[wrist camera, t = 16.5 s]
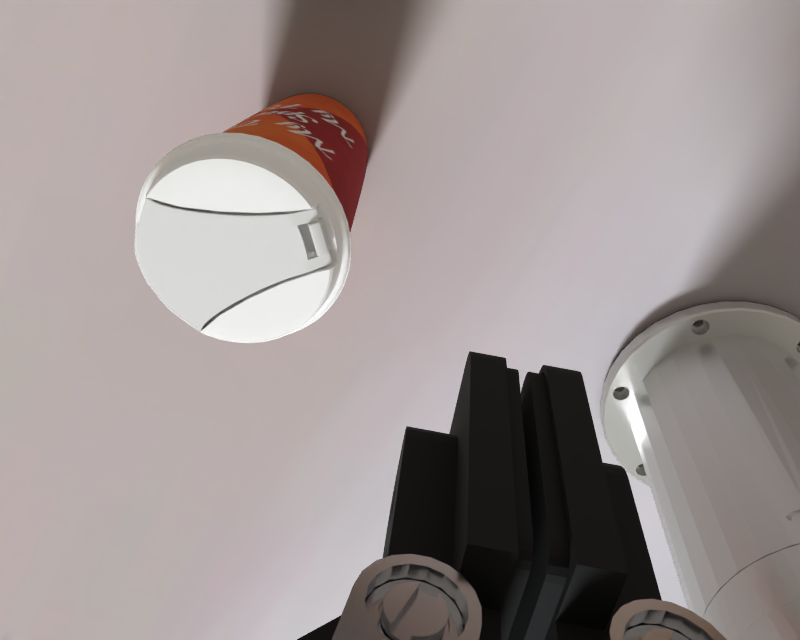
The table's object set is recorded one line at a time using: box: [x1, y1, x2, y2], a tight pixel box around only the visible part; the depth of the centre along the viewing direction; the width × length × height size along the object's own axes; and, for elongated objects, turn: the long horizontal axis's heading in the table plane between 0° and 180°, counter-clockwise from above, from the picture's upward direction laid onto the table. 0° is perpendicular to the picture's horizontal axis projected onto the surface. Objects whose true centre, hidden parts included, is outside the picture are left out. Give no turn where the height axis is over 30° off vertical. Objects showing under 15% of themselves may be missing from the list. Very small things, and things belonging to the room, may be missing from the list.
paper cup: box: [135, 94, 368, 343], centre depth 31 cm, size 8×8×14 cm
